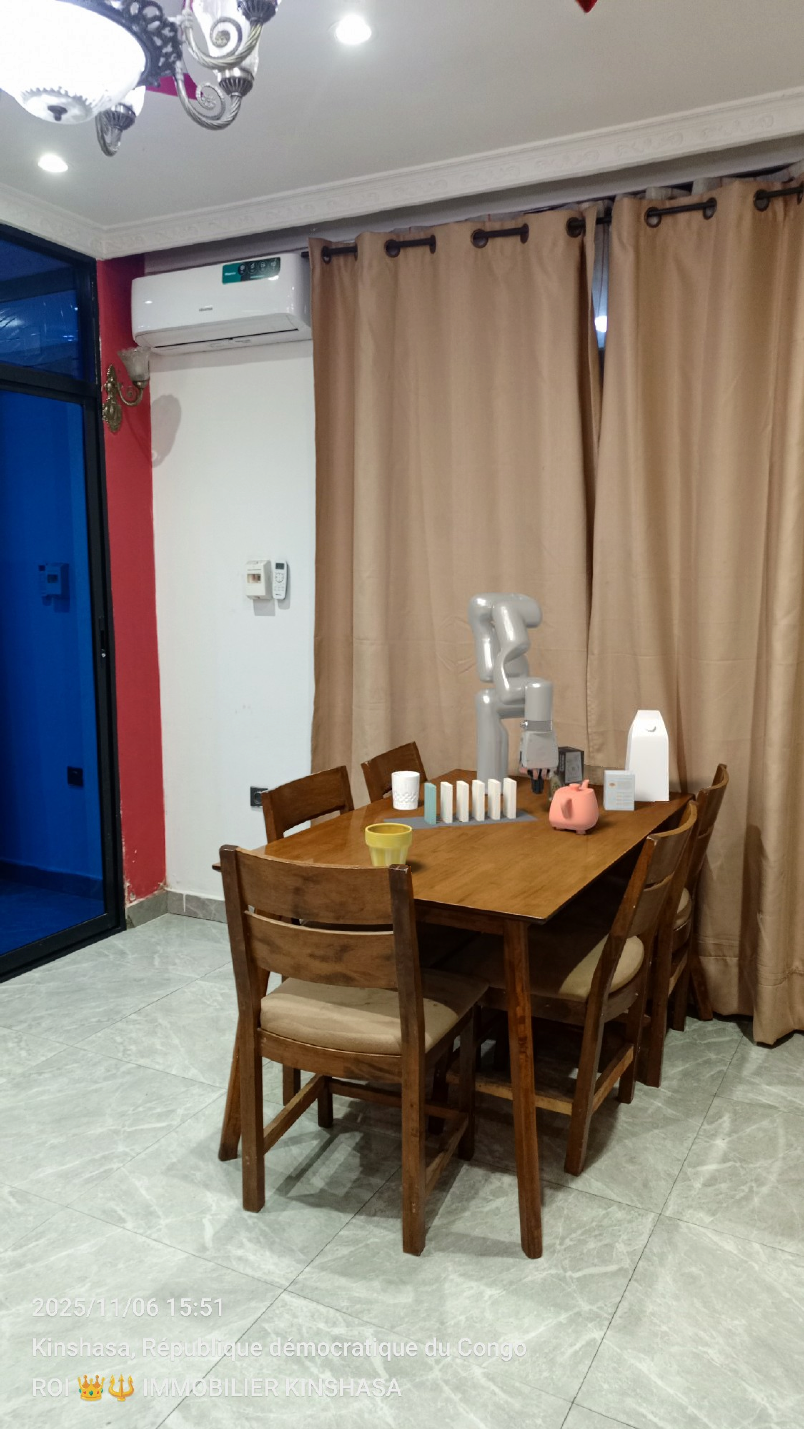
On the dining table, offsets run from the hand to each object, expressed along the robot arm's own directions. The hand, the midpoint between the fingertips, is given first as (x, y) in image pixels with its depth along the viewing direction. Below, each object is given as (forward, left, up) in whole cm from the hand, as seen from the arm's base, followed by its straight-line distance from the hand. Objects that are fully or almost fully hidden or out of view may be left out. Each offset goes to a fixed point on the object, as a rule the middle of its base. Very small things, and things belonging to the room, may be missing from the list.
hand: (537, 792), depth 261 cm
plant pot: (+37, -52, -7) cm, 64 cm away
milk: (-13, +41, -7) cm, 44 cm away
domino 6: (0, -8, -6) cm, 10 cm away
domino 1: (0, -30, -6) cm, 31 cm away
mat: (0, -22, -7) cm, 23 cm away
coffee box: (-11, +14, -7) cm, 19 cm away
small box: (-2, +26, -7) cm, 27 cm away
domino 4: (0, -17, -6) cm, 18 cm away
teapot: (+15, +4, -7) cm, 17 cm away
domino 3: (0, -21, -6) cm, 22 cm away
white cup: (-18, -32, -7) cm, 37 cm away
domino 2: (0, -26, -6) cm, 27 cm away
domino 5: (0, -12, -6) cm, 14 cm away
